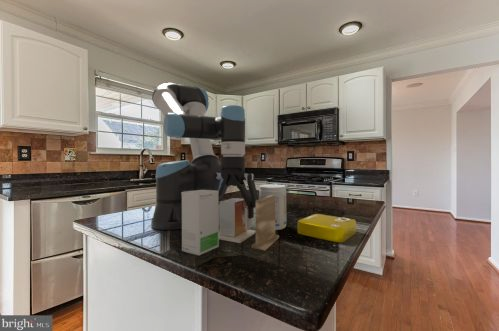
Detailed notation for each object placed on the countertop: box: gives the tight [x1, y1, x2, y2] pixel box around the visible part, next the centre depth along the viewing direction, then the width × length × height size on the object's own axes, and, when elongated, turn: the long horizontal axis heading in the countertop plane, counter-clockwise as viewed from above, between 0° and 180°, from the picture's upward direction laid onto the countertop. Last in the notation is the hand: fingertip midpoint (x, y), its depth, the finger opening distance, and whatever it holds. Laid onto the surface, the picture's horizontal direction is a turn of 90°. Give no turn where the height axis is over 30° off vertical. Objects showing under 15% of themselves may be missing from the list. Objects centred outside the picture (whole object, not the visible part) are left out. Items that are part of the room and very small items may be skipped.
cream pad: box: [219, 229, 256, 244], centre depth 76 cm, size 11×11×1 cm
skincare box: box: [181, 190, 220, 256], centre depth 64 cm, size 8×7×16 cm
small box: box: [219, 197, 247, 237], centre depth 76 cm, size 8×6×10 cm
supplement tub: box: [258, 183, 287, 231], centre depth 85 cm, size 10×10×15 cm
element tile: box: [297, 213, 357, 243], centre depth 79 cm, size 15×15×5 cm
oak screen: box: [250, 195, 280, 251], centre depth 69 cm, size 4×11×13 cm, turn 154°
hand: (233, 226), depth 76 cm, fingers open, 10 cm apart
